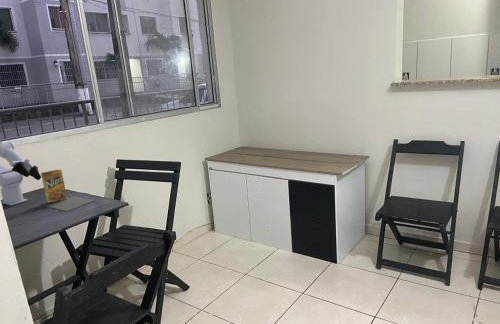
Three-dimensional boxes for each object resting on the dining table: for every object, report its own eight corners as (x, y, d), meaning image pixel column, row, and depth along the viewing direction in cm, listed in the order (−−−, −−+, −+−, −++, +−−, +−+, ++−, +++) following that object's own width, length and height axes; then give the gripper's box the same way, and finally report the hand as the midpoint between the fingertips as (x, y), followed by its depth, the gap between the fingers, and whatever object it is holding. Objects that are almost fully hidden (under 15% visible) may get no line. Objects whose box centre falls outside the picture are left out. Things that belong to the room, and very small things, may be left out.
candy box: (47, 203, 179) (41, 172, 176) (46, 201, 182) (40, 171, 180) (67, 199, 184) (61, 169, 181) (66, 197, 187) (60, 168, 184)
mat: (46, 206, 175) (46, 206, 175) (74, 196, 188) (74, 196, 188) (66, 211, 167) (66, 211, 167) (94, 200, 180) (94, 200, 180)
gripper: (10, 149, 168) (28, 167, 165) (32, 157, 182) (49, 173, 179) (-1, 161, 168) (18, 179, 164) (22, 168, 182) (40, 184, 178)
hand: (34, 177), depth 172 cm, fingers open, 7 cm apart
